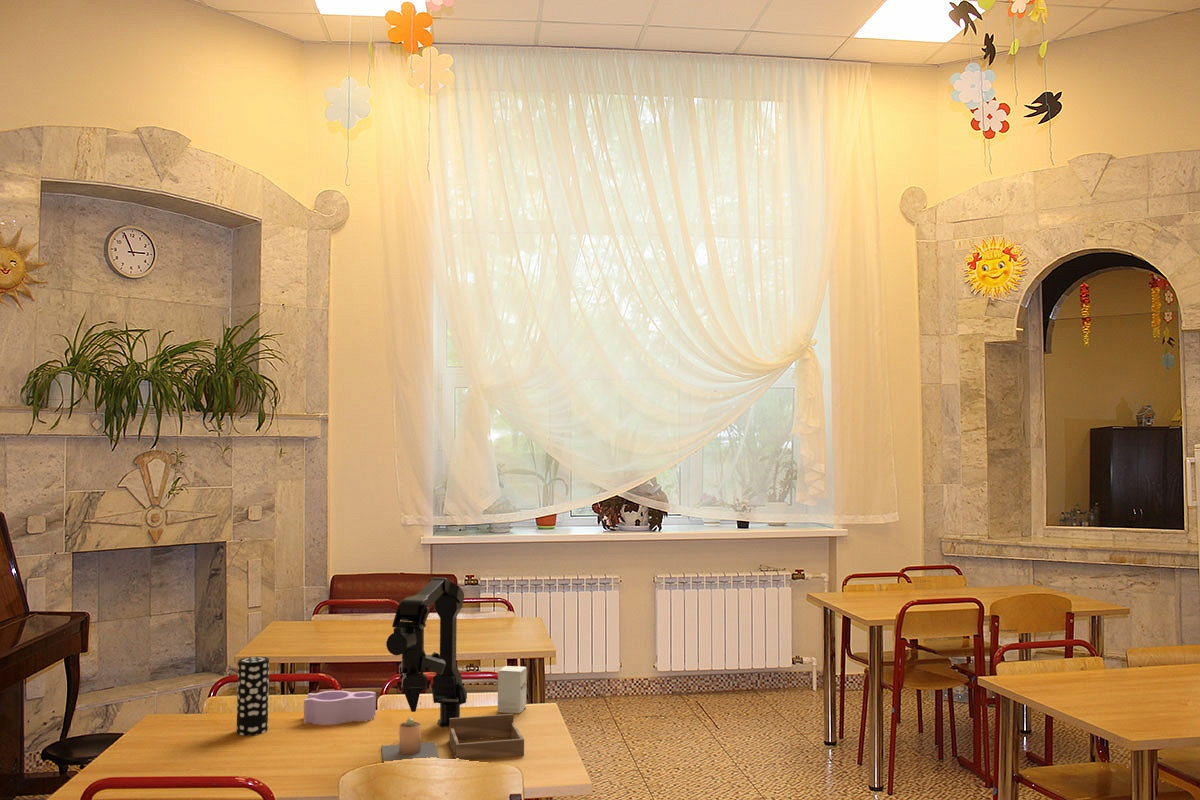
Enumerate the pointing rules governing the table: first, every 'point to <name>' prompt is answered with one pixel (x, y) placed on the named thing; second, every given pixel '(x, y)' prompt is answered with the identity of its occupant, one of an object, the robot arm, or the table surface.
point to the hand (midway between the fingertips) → (412, 706)
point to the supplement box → (512, 689)
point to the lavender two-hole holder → (339, 707)
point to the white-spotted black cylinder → (252, 695)
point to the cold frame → (485, 736)
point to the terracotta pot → (409, 737)
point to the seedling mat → (393, 754)
